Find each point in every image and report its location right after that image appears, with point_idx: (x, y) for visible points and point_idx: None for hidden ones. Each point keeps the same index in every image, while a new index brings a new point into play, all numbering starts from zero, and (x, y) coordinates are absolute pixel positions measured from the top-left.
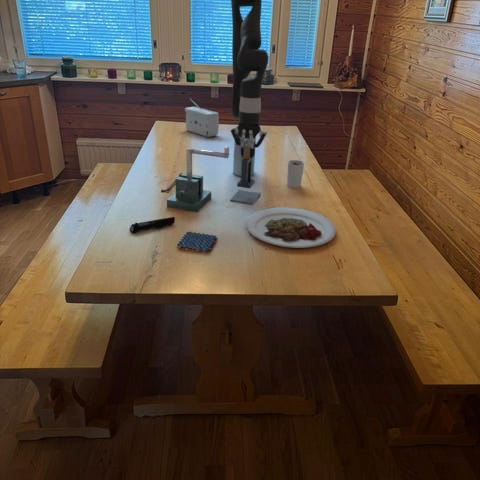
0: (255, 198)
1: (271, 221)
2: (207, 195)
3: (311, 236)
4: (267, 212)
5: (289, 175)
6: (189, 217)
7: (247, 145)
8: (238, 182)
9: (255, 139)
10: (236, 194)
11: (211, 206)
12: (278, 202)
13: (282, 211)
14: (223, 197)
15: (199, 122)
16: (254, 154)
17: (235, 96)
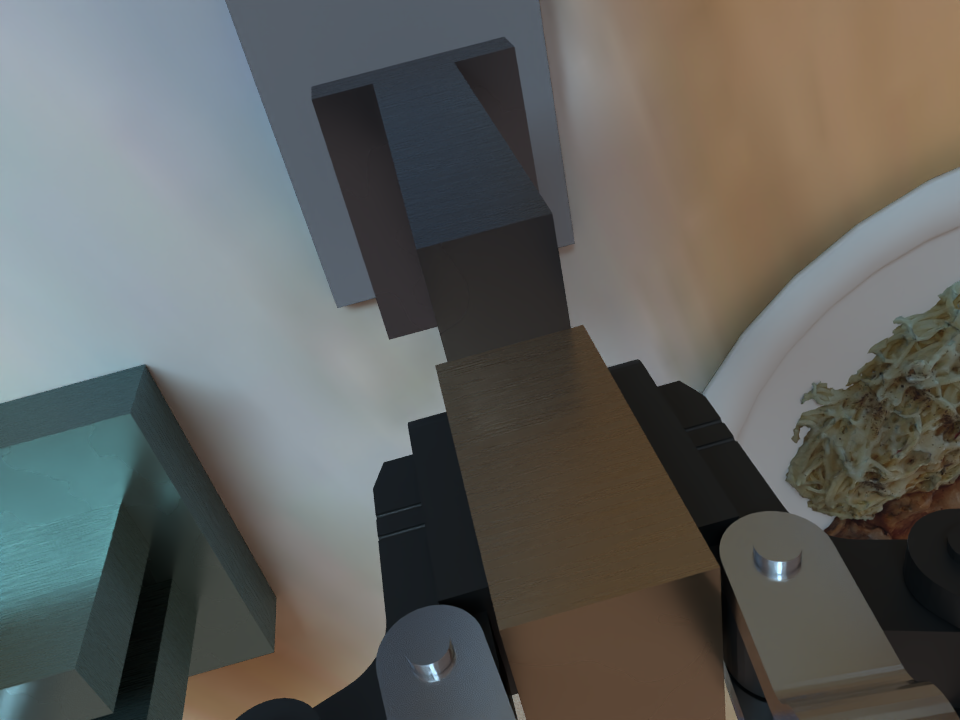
0: (544, 116)
1: (824, 435)
2: (180, 493)
3: None
4: (768, 351)
5: None
6: (289, 662)
7: (621, 710)
8: (376, 296)
9: (943, 714)
10: (300, 150)
11: (280, 476)
12: (790, 10)
13: (883, 253)
14: (216, 266)
15: None
16: (711, 423)
17: None
